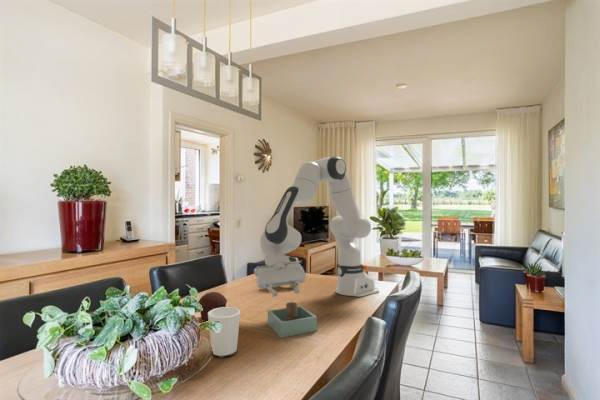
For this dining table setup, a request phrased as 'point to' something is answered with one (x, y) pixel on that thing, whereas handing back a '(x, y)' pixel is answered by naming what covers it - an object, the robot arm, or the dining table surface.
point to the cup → (225, 330)
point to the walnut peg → (291, 311)
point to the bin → (292, 322)
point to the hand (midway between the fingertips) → (286, 294)
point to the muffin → (211, 303)
